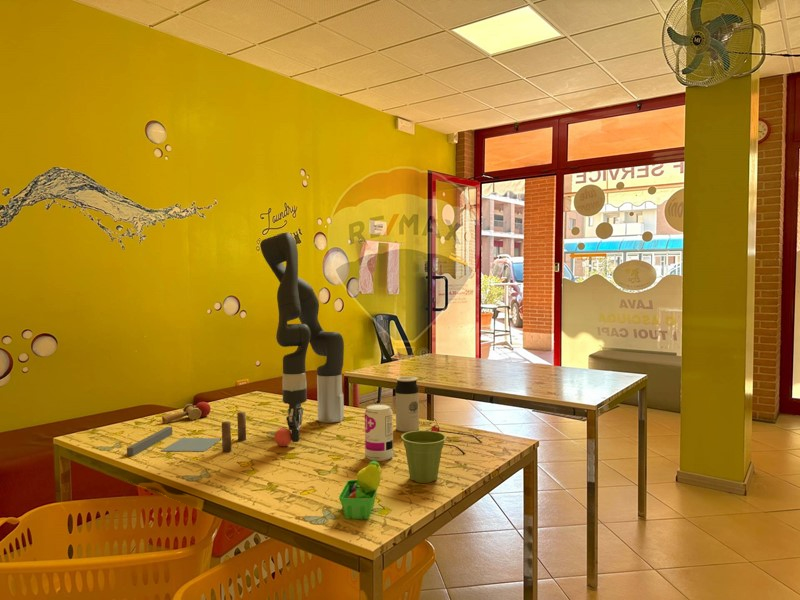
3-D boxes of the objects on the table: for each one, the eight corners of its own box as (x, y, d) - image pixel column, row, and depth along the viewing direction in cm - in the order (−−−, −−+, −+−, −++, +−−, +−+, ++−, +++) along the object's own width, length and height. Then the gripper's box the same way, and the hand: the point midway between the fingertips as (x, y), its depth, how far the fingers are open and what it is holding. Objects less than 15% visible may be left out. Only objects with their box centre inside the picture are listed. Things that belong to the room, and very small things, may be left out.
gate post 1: (232, 450, 173) (231, 421, 173) (229, 452, 171) (228, 423, 170) (224, 450, 174) (223, 421, 173) (221, 452, 171) (220, 423, 171)
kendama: (169, 429, 205) (215, 414, 217) (165, 412, 205) (211, 398, 217) (162, 429, 210) (207, 414, 222) (158, 413, 210) (204, 399, 222)
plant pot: (413, 490, 138) (412, 445, 138) (394, 475, 149) (394, 433, 149) (455, 482, 143) (454, 439, 143) (434, 468, 154) (433, 428, 154)
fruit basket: (348, 500, 132) (347, 453, 132) (385, 501, 132) (384, 454, 131) (338, 521, 121) (337, 470, 121) (378, 522, 120) (377, 470, 120)
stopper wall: (172, 434, 193) (172, 427, 193) (133, 456, 169) (133, 447, 169) (166, 434, 193) (166, 426, 193) (126, 455, 169) (126, 447, 169)
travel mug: (392, 428, 197) (391, 377, 196) (413, 425, 200) (412, 375, 199) (401, 433, 189) (400, 380, 189) (422, 430, 193) (422, 379, 192)
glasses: (436, 437, 186) (436, 422, 185) (483, 444, 177) (483, 428, 177) (417, 449, 173) (416, 433, 173) (466, 456, 165) (466, 440, 165)
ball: (294, 443, 180) (294, 426, 179) (289, 448, 174) (289, 430, 174) (277, 443, 180) (277, 426, 180) (272, 448, 175) (271, 430, 174)
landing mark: (222, 438, 186) (222, 438, 186) (204, 451, 172) (204, 451, 172) (182, 438, 187) (182, 437, 187) (160, 451, 173) (160, 450, 173)
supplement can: (372, 463, 159) (371, 411, 158) (361, 455, 166) (360, 405, 166) (398, 459, 162) (397, 408, 162) (385, 451, 170) (384, 402, 169)
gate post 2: (247, 438, 186) (246, 411, 186) (244, 440, 183) (243, 413, 183) (239, 438, 186) (239, 411, 186) (236, 440, 184) (236, 413, 183)
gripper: (288, 383, 183) (289, 435, 183) (277, 391, 169) (278, 447, 170) (310, 383, 182) (311, 435, 183) (301, 391, 169) (302, 447, 170)
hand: (295, 441), depth 176 cm, fingers closed
